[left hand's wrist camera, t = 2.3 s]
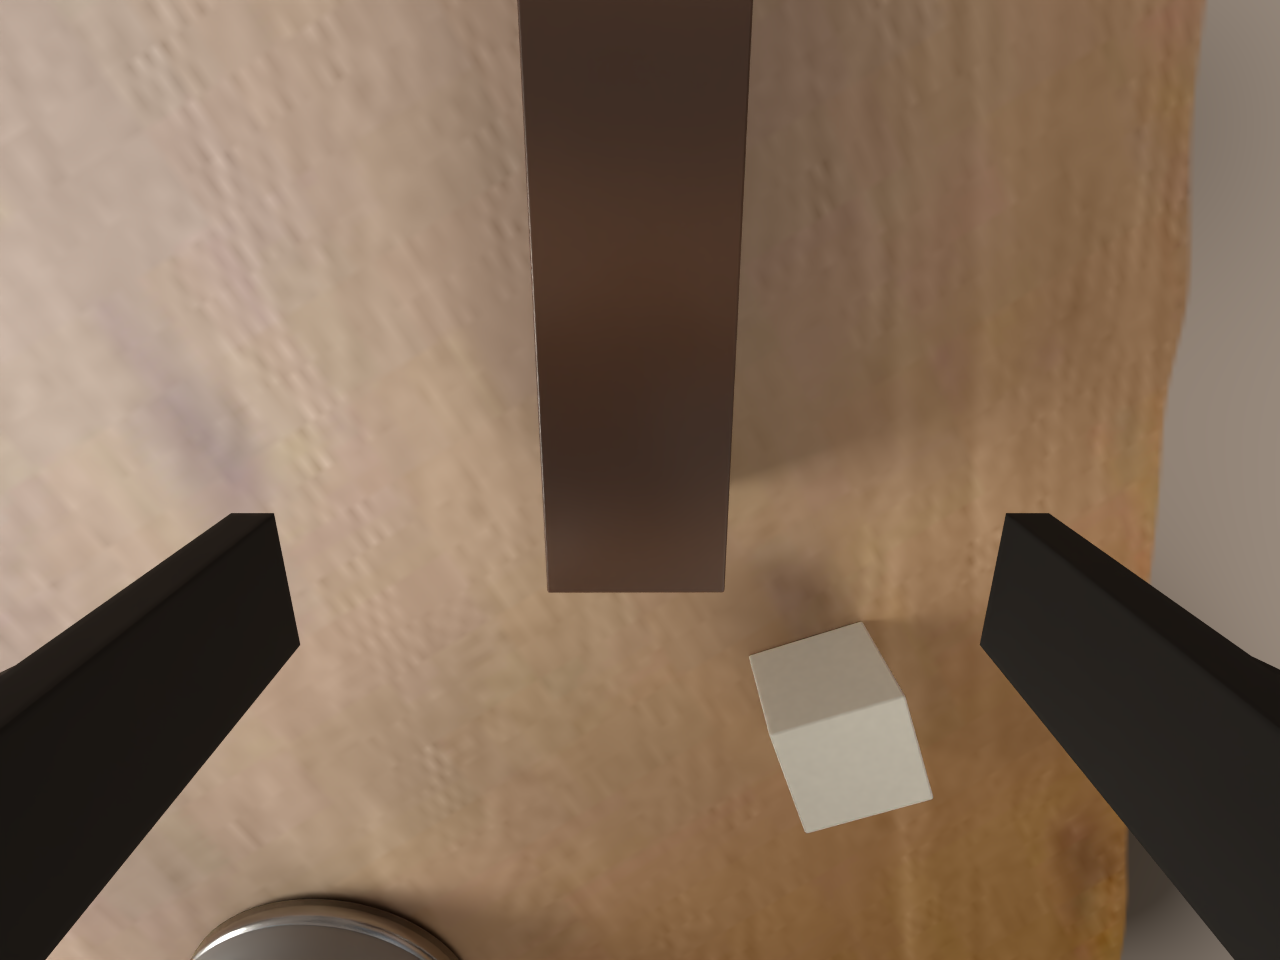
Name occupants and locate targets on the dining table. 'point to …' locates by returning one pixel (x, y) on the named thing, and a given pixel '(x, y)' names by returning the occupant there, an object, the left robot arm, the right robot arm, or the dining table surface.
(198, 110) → the dining table surface
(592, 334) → the bar
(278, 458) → the dining table surface
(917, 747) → the block
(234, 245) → the dining table surface
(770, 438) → the dining table surface
